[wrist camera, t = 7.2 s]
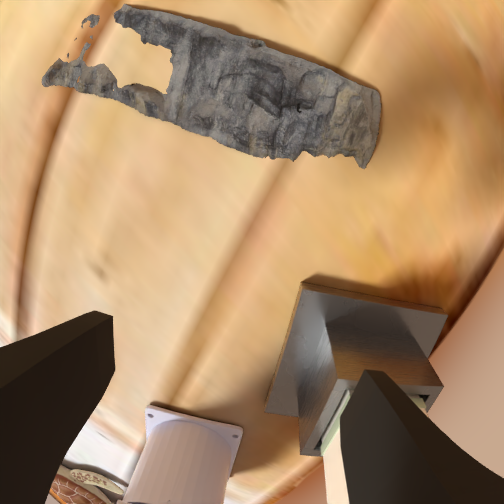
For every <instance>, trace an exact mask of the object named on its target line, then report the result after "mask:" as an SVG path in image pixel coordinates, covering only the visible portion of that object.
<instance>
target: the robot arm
mask: <svg viewBox="0 0 504 504" xmlns="http://www.w3.org/2000/svg"><path fill="white" fill-rule="evenodd" d="M114 372H115V358H114V338H113V316H111V315H108V314H104V313H101V312H98V311H92V312H89V313H86V314H83V315H81V316H79V317H76V318H74V319H71V320H69V321H67V322H64V323H62V324H60V325H57V326H55V327H52V328H50V329H48V330H45V331H43V332H41V333H38V334H36V335H33V336H30V337H28V338H25V339H22V340H20V341H17V342H14V343H11V344H9V345H6V346H3V347H0V504H45V501H46V499H47V496H48V493H49V491H50V488H51V486H52V483H53V481H54V478H55V476H56V474H57V472H58V469H59V467H60V465H61V463H62V461H63V459H64V457H65V455H66V453H67V451H68V450H69V448H70V446H71V445H72V443H73V442H74V440H75V439H76V437H77V435H78V434H79V432H80V431H81V429H82V428H83V426H84V425H85V423H86V422H87V420H88V419H89V417H90V416H91V414H92V412H93V411H94V409H95V408H96V406H97V405H98V403H99V402H100V400H101V399H102V397H103V395H104V393H105V391H106V389H107V387H108V385H109V383H110V381H111V378H112V376H113V374H114ZM145 421H146V439H147V442H146V445H145V447H144V449H143V452H142V454H141V457H140V459H139V461H138V464H137V466H136V469H135V471H134V474H133V476H132V478H131V481H130V483H129V486H128V488H127V491H126V493H125V496H124V498H123V501H121V500H118V501H117V503H116V504H223V503H224V497H225V491H226V485H227V482H228V480H229V476H230V473H231V470H232V467H233V464H234V461H235V457H236V454H237V451H238V448H239V444H240V441H241V438H242V435H243V429H242V428H241V427H239V426H235V425H230V424H225V423H220V422H215V421H211V420H206V419H202V418H198V417H194V416H190V415H186V414H182V413H178V412H174V411H170V410H167V409H163V408H160V407H156V406H153V405H147V406H146V408H145ZM340 447H341V454H342V460H343V466H344V473H345V479H346V485H347V492H348V498H349V504H504V478H502V477H500V476H499V475H497V474H495V473H494V472H492V471H491V470H489V469H488V468H486V467H485V466H483V465H482V464H481V463H479V462H478V461H477V460H475V459H474V458H473V457H471V456H470V455H469V454H467V453H466V452H465V451H464V450H462V449H461V448H460V447H459V446H458V445H456V444H455V443H454V442H453V441H452V440H451V439H450V438H449V437H448V436H447V435H446V434H445V433H444V432H442V431H441V430H440V429H439V428H438V427H437V426H436V425H435V424H434V423H433V422H432V421H431V420H430V419H429V418H428V417H427V416H426V415H425V414H424V413H423V411H422V410H421V409H420V408H419V407H418V406H417V405H416V404H415V403H414V402H413V401H412V400H411V399H410V398H409V397H408V396H407V395H406V393H405V392H404V391H403V390H402V389H401V388H400V387H399V386H398V385H397V384H396V383H395V382H394V381H393V380H392V379H391V378H390V377H389V376H388V375H387V374H386V373H385V372H383V371H377V370H368V369H364V371H363V373H362V375H361V377H360V379H359V381H358V383H357V385H356V387H355V389H354V391H353V393H352V395H351V397H350V399H349V401H348V403H347V405H346V407H345V409H344V410H343V412H342V414H341V416H340Z"/></svg>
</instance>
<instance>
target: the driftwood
mask: <svg viewBox="0 0 504 504" xmlns="http://www.w3.org/2000/svg"><path fill="white" fill-rule="evenodd" d="M114 14H115V15H114V18H115V19H116V20H115V22H117V23H120V24H121V25H122V26H123V28H127V27H130V28H132V29H134V30H135V31H136V32H137V33H138V34H140V35H141V41H142V42H143V44H146V43H147V42H148V43H150V44H153V45H156V46H158V45H161V46H163V47H165V48H167V49H170V50H171V53H172V57H171V58H170V62H171V63H172V65H173V72H172V75H171V78H170V82H169V86H168V88H167V90H166V92H167V94H162V93H161V92H159V91H158V90H156V89H154V88H151V87H149V86H144V85H141V84H137V83H136V84H134V85H133V84H132V85H126V86H124V87H123V88H118V87H117V79H116V78H115V76H114V75H113V74H112V72H111V71H110V70H109V68H108V67H107V66H106V65H105V64H99V65H97V66H94V67H87V66H86V64H85V62H84V61H83V55H84V53H85V50H87V49H88V48H89V47H90V45H91V44H89V43H87V42H86V44H85V46H84V47H83V49H82V51H81V54H80V57H79V58H78V59H77V60H74V61H71V62H70V63H68V62H63V61H62V60H61V59H60V58H59V59H58V60H57V61H56V62H55V63H54V64H53V65H52V66H51V67H50V68H49V69H48V71H47V72H46V74H45V75H44V76H43V78H42V85H43V86H44V87H49V86H51V85H55V86H57V85H60V86H64V87H74V88H76V91H79V92H82V93H89V94H95V95H96V96H97V95H98V96H99V97H104V98H111V99H114V100H118V101H120V102H121V103H124V104H126V105H128V106H130V107H133V108H135V109H136V110H138V111H139V112H140V113H142V114H144V115H145V116H149V117H155V118H159V119H161V120H162V121H168V122H172V123H173V124H175V125H178V126H180V127H181V128H182V129H185V130H188V131H190V132H194V133H196V134H200V135H202V136H207V137H209V136H210V137H212V138H213V139H214V140H216V141H217V142H219V143H220V144H223V145H225V146H227V147H230V148H234V149H236V150H238V151H241V152H244V153H247V154H250V155H253V156H255V157H260V158H264V157H265V158H266V157H267V156H269V157H270V159H276V158H289V159H291V160H292V161H293V162H294V160H296V159H297V157H298V156H299V155H300V154H301V152H302V151H307V152H308V153H310V154H311V155H312V156H314V157H316V156H320V155H326V156H327V157H329V158H330V157H331V156H333V157H334V156H335V155H337V154H343V155H344V156H345V157H349V156H354V158H355V160H356V162H357V164H358V165H359V167H361V168H363V169H365V168H366V165H367V163H368V162H369V159H370V157H371V156H372V152H373V151H374V148H375V146H376V140H377V135H378V134H379V133H378V131H379V127H378V126H379V121H380V113H381V103H380V95H379V93H378V92H377V91H376V90H374V89H371V88H368V87H367V88H366V87H365V86H363V85H362V86H361V85H359V84H357V83H356V82H353V81H351V80H349V79H347V78H344V77H343V76H340V75H339V74H337V73H335V72H334V71H332V70H331V69H327V68H325V67H323V66H319V65H318V64H316V63H312V62H309V61H306V60H305V59H302V58H299V57H295V56H292V55H288V54H284V53H282V52H279V51H277V50H275V49H271V48H268V47H267V46H266V45H265V42H264V41H260V40H258V39H256V40H255V39H249V38H247V37H243V36H237V35H233V34H230V33H228V32H227V31H225V30H222V29H221V28H216V27H211V26H209V25H207V24H203V23H202V22H201V23H200V22H197V21H194V20H192V19H189V18H188V19H186V18H183V17H182V16H176V15H173V14H169V13H166V12H165V13H164V12H161V11H153V10H140V9H136V8H132V7H131V6H130V7H129V6H128V5H127V4H126V5H125V4H124V5H123V7H122V8H121V9H120V10H118V11H116V12H115V13H114ZM99 17H100V16H99V15H98V16H96V15H93V14H91V15H90V16H88V17H87V18H85V19H84V20H83V21H82V26H81V27H82V28H83V24H84V23H85V22H87V20H89V21H91V24H90V27H91V28H93V27H94V26H95V25H97V24H98V21H99ZM92 36H93V35H92ZM92 36H90V38H91V39H92ZM76 39H77V38H76ZM76 39H75V40H76ZM67 57H69V53H68V54H67ZM79 76H80V78H79V82H78V83H77V79H78V77H79ZM113 89H114V91H113Z"/></svg>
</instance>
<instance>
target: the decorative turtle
mask: <svg viewBox="0 0 504 504" xmlns="http://www.w3.org/2000/svg"><path fill="white" fill-rule="evenodd" d="M95 485H97V486H100V487H102V488H105V489H107V490H109V491H112V492H114V493H117V494H120V495H122V494H123V493H124V491H123V490H122V489H121V488H120V487H118V486H117V485H116V484H115V483H113V482H112V481H111V480H109V479H108V478H106V477H104V476H102V475H100V474H97V473H94V472H90V471H84V470H78V469H73V470H70V469H68V468H66V467H64V466H63V465H60V467H59V469H58V472H57V474H56V476H55V478H54V481H53V483H52V486H51V489H52V490H53V492H54V493H56V494H57V495H58V496H59V497H60V498H61V499H62V500H63V501H64V502H66V503H67V504H114V503H112V502H111V501H109V499H108V498H107V496H106V495H105V494H104V493H103V492H102V491H101V490H100V489H98V488H97V487H96V486H95Z"/></svg>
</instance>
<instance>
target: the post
mask: <svg viewBox="0 0 504 504" xmlns="http://www.w3.org/2000/svg"><path fill="white" fill-rule="evenodd" d="M353 391H354V390H347V389H346V390H345V392H344V394H343V396H342V398H341V400H340V402H339V404H338V406H337V408H336V410H335V411H334V413H333V415H332V417H331V419H330V421H329V423H328V425H327V427H326V428H325V430H324V432H323V434H322V436H321V439H322V445H321V456H323V458H324V469H325V480H326V491H327V504H349V498H348V492H347V485H346V479H345V473H344V466H343V460H342V454H341V447H340V416H341V414H342V412H343V410H344V409H345V407H346V405H347V403H348V401H349V399H350V397H351V395H352V393H353ZM406 395H407V396H408V397H409V398H410V399H411V400H412V401H413V402H414V403H415V404H416V405H417V406H418V407H419V408H420V409H421V410H422V411H423V413H424V414H425V415H426V416H427V417H428V414H427V412H426V410H425V409H426V405H425V403H424V400H423V398H420V397H419V395H418V394H406ZM428 418H429V417H428Z"/></svg>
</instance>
